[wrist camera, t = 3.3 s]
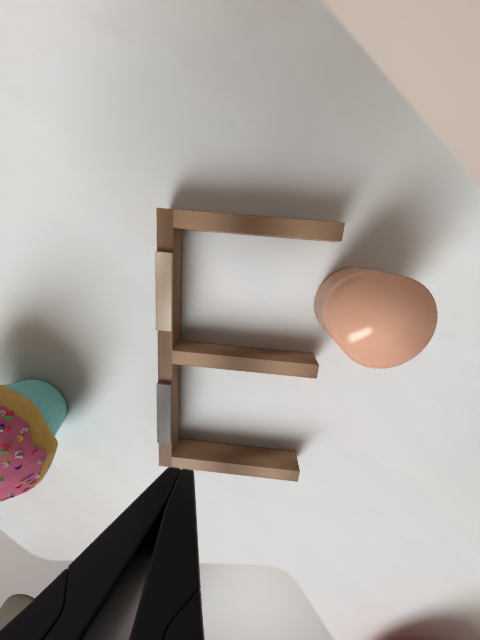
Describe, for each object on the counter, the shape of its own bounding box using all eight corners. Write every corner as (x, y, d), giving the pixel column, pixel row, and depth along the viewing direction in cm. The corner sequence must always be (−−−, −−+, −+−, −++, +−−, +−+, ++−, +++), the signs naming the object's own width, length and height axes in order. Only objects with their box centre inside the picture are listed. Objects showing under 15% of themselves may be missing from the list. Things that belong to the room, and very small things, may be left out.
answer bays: (334, 225, 17) (346, 222, 14) (294, 461, 22) (298, 485, 20) (167, 212, 17) (154, 207, 15) (167, 446, 22) (157, 468, 20)
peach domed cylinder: (395, 271, 17) (451, 281, 12) (376, 340, 19) (419, 373, 14) (321, 263, 17) (348, 269, 12) (308, 332, 19) (327, 362, 14)
